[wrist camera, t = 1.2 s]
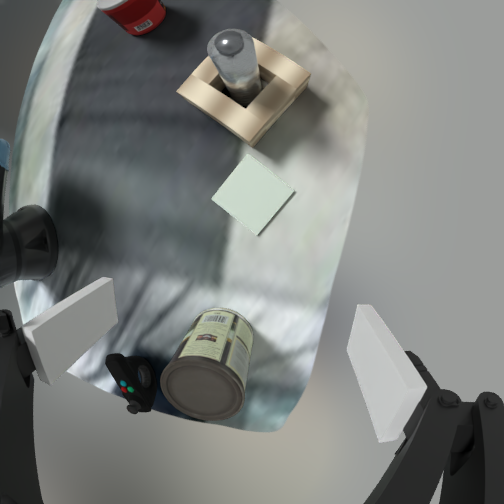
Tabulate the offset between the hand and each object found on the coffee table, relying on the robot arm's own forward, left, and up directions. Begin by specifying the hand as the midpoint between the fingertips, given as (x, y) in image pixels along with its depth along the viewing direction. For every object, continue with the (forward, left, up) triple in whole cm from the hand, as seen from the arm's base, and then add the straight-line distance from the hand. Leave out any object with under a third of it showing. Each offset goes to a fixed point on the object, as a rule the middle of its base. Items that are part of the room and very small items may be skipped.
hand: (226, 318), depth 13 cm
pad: (-4, +4, -25) cm, 26 cm away
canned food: (-39, +18, -25) cm, 50 cm away
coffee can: (+6, -16, -25) cm, 31 cm away
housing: (-14, +15, -25) cm, 32 cm away
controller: (-1, -32, -25) cm, 41 cm away
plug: (-14, +15, -25) cm, 32 cm away
